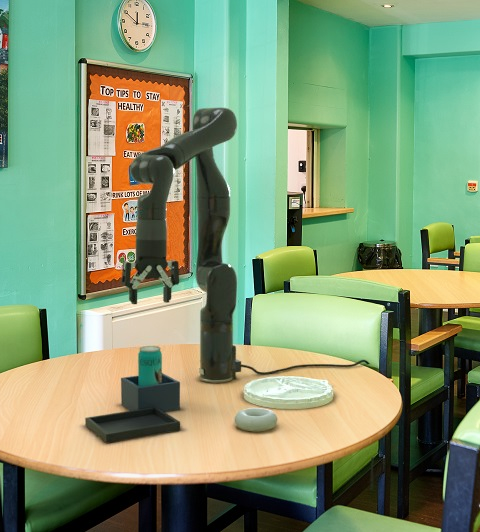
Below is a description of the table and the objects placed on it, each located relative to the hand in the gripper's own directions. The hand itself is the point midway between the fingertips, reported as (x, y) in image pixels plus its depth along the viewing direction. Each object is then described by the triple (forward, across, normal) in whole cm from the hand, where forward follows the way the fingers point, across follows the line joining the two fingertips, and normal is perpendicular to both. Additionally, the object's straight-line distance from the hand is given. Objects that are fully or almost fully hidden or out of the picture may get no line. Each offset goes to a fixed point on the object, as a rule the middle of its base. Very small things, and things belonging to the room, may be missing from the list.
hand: (150, 303), depth 201 cm
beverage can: (+26, 0, -2) cm, 26 cm away
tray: (+26, -10, -14) cm, 32 cm away
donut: (+26, +15, -27) cm, 41 cm away
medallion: (+25, +37, -9) cm, 46 cm away
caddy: (+26, 0, -2) cm, 26 cm away
